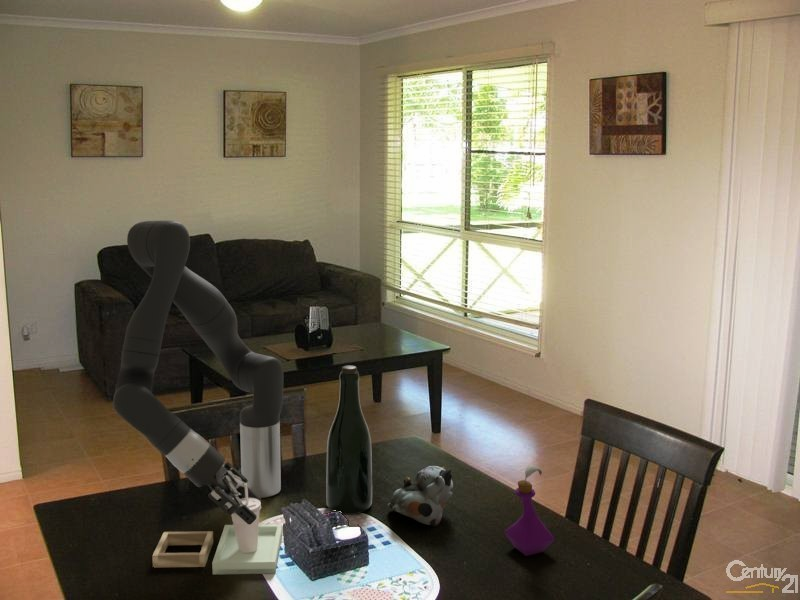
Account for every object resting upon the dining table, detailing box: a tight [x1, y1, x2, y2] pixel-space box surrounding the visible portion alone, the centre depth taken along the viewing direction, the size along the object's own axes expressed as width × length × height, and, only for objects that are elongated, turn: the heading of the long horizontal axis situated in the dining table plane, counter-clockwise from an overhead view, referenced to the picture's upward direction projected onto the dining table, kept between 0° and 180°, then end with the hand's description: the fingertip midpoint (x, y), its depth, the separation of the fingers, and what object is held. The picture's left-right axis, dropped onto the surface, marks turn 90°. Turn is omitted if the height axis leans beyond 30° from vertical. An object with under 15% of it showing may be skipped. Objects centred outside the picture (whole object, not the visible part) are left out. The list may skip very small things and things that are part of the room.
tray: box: [211, 524, 283, 575], centre depth 167 cm, size 16×12×2 cm
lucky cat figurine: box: [387, 465, 454, 527], centre depth 184 cm, size 15×12×14 cm
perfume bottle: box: [503, 464, 556, 557], centre depth 169 cm, size 8×8×18 cm
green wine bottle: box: [325, 364, 373, 515], centre depth 187 cm, size 10×10×33 cm
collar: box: [152, 530, 214, 568], centre depth 167 cm, size 10×10×2 cm
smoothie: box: [230, 484, 262, 553], centre depth 166 cm, size 6×6×14 cm
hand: (255, 512), depth 166 cm, fingers open, 7 cm apart
